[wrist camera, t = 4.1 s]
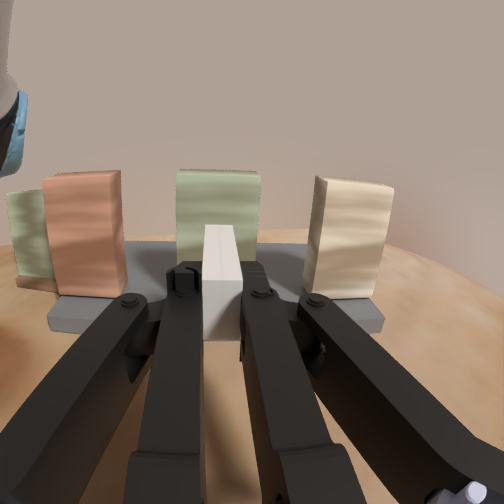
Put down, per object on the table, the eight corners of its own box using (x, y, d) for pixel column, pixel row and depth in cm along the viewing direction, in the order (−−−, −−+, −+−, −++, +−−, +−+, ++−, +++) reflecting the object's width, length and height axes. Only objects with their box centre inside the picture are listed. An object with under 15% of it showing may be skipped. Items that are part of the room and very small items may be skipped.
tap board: (380, 331, 25) (385, 317, 24) (51, 330, 21) (46, 315, 21) (322, 255, 40) (323, 244, 40) (106, 251, 37) (105, 240, 36)
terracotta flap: (120, 297, 24) (109, 176, 20) (59, 294, 23) (41, 180, 19) (128, 281, 27) (120, 170, 23) (71, 278, 26) (58, 173, 22)
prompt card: (17, 286, 26) (0, 196, 23) (31, 274, 29) (17, 189, 25) (58, 292, 27) (42, 194, 23) (70, 279, 29) (58, 187, 26)
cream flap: (371, 297, 27) (394, 189, 23) (310, 299, 26) (327, 181, 22) (358, 282, 30) (377, 182, 26) (301, 283, 29) (315, 175, 25)
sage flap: (252, 300, 25) (261, 177, 22) (178, 299, 25) (176, 174, 21) (248, 283, 28) (256, 171, 24) (181, 282, 27) (180, 169, 24)
